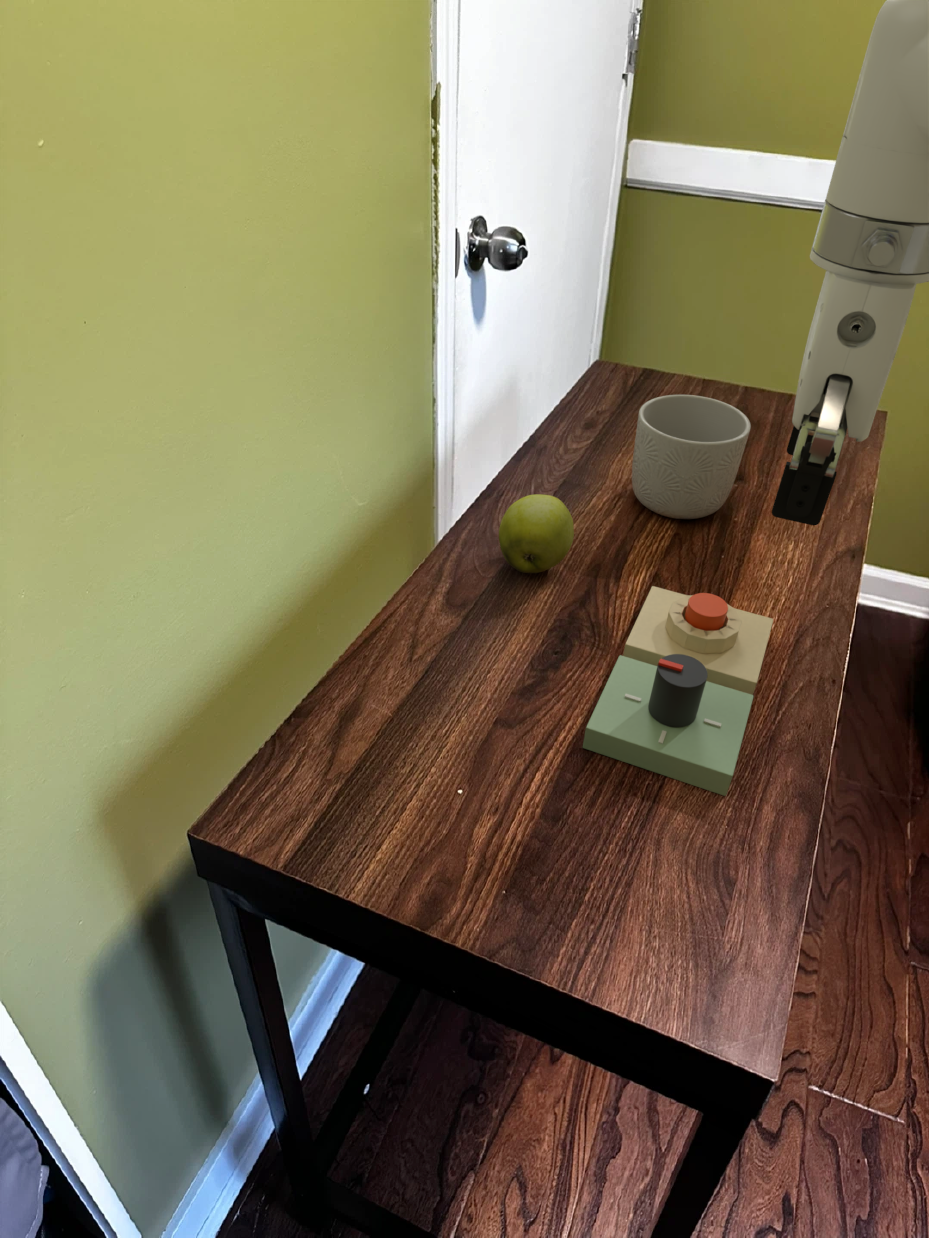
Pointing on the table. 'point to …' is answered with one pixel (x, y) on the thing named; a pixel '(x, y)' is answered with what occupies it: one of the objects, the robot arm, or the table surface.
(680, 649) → the button base
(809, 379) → the robot arm
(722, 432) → the planter
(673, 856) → the table surface
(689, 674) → the dial
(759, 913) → the table surface
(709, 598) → the stop button
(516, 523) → the apple
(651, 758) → the dial base
